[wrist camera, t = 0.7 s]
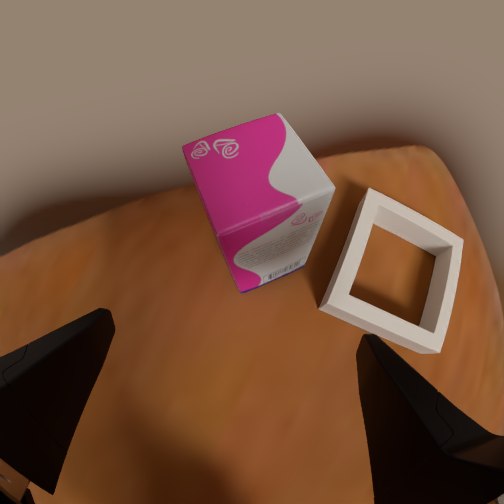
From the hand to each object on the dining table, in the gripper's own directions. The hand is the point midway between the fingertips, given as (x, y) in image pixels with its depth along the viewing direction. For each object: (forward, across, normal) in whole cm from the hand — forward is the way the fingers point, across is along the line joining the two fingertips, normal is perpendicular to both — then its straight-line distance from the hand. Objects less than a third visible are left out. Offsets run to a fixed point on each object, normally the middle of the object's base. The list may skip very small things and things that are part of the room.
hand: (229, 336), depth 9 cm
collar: (+13, -12, +4) cm, 18 cm away
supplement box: (+14, 0, +3) cm, 15 cm away
